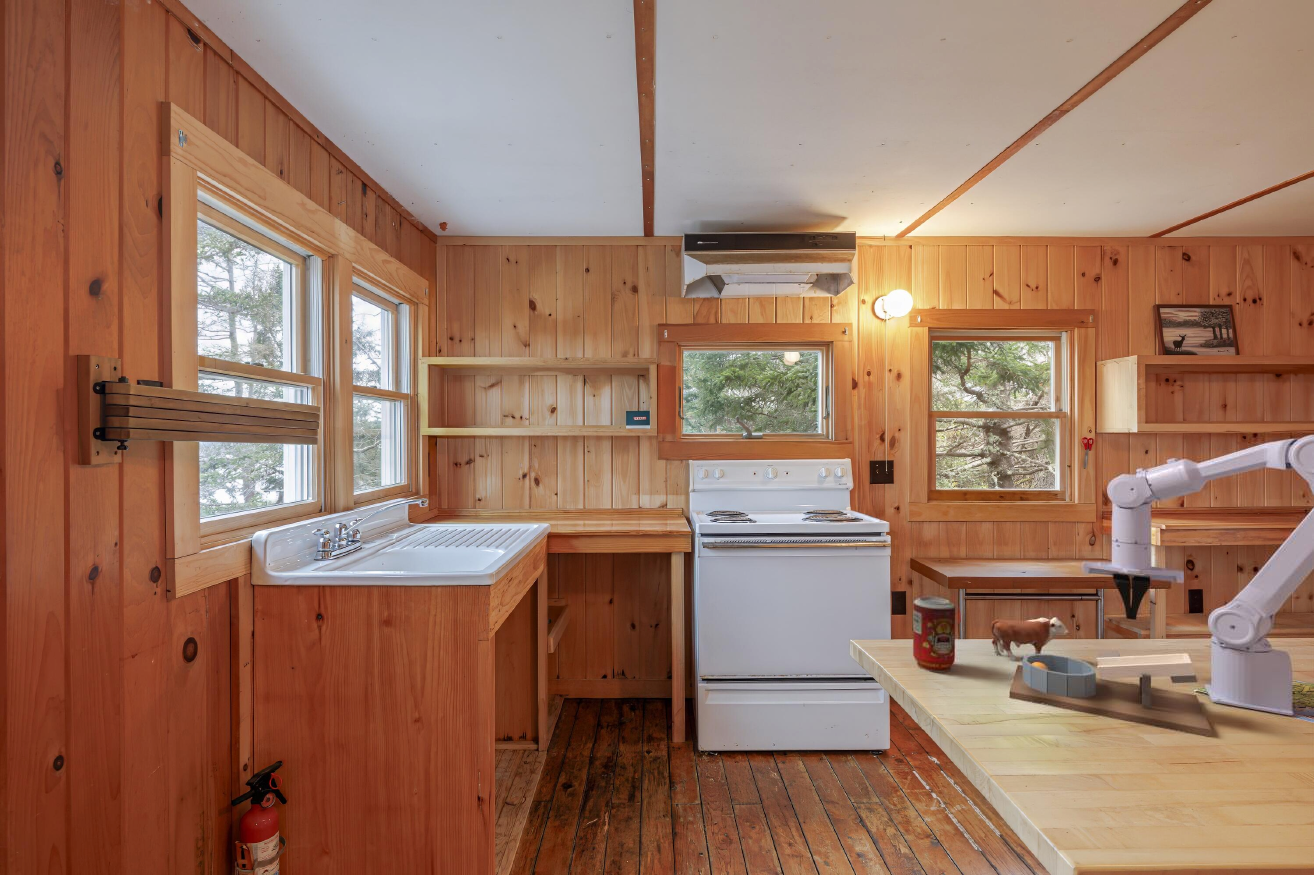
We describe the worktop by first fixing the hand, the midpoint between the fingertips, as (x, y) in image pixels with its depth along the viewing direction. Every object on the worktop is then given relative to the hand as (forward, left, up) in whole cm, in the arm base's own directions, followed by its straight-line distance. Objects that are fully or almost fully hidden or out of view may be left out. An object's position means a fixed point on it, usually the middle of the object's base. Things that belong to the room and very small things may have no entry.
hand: (1131, 618), depth 116 cm
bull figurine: (+16, +1, -10) cm, 19 cm away
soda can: (+30, +16, -10) cm, 35 cm away
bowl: (+10, +17, -10) cm, 22 cm away
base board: (+4, +17, -10) cm, 20 cm away
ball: (+13, +17, -7) cm, 23 cm away
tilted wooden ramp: (-1, +13, -6) cm, 14 cm away
